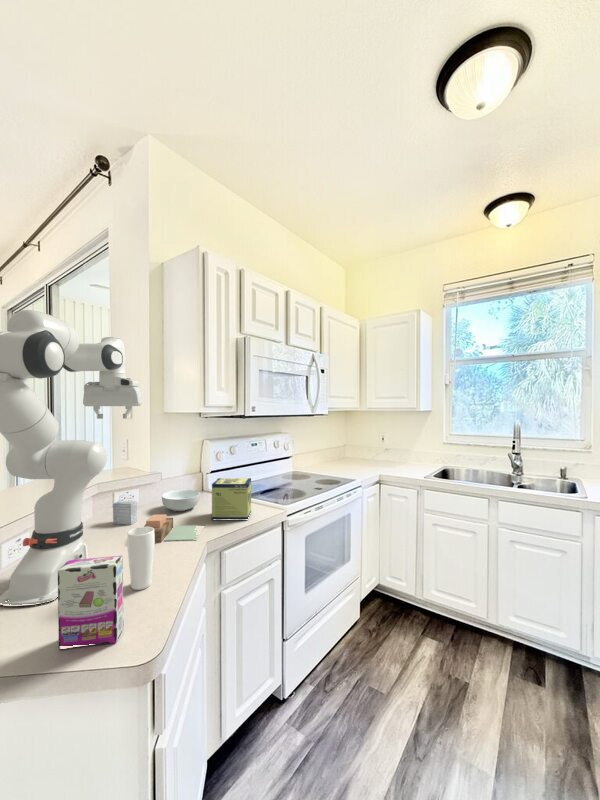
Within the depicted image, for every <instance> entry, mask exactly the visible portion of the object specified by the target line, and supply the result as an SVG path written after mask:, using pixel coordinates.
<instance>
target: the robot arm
mask: <svg viewBox="0 0 600 800" xmlns="http://www.w3.org/2000/svg"><path fill="white" fill-rule="evenodd" d="M6 329H7V331H0V434H1V435H2V436H3V437H4V439H5V440H6V441H7V442H8V444H10V445H11V449H10V450H9V451H8V453H7V454H6V456H5V457H6V458H5V467H6V470H7V471H8V474H10V476H13V477H15V478H21V479H27V480H54V483H53V487H52V490H50V491H49V492H47V493H45V494H43V495H42V496H40V497H39V498H38V500H36V502H35V504H34V508H33V509H34V515H33V516H34V520H33V521H34V529H33V531H32V533H31V536H30V537H25V538H24V539H23V541H22V543H21V544H22V546H23V547H26V546H29V548H28V550H27V551H26V552H25V554H24V555H23V557H22V558H21V560H20V561H19V562H18V564H17V566H16V567H15V569H14V570H13V571H12V573H11V574H10V576H9V577H10V579H9V586H8V588H7V589H6V590H5V591H4V592H3V593H2V594H1V595H0V603H2V604H9V605H10V604H11V605H22V604H36V603H43V602H47V601H51V600H53V599H55V598H56V597H58V570H59V569H60V568H61V567H62V566H63V565H64V564H65V563H66V562H67V561H69V560H79V559H89V553H88V546H87V543H86V542H85V541H84V539H83V535H84V524H83V521H82V504H83V502H82V501H83V497H84V496H83V495H84V493H85V490H86V488H87V486H88V485H89V483H90V482H91V481H92V480H93V479H94V478H95V477H96V476H98V475H99V474H100V473H101V472H102V471H103V470H104V468H105V466H106V464H107V459H108V458H107V456H108V455H107V451H106V450H105V448H104V446H103V445H102V444H101V443H98V442H95V441H90V440H83V439H81V440H79V439H78V440H76V439H75V440H74V439H73V440H72V439H70V440H68V439H67V440H65V439H64V440H62V439H56V438H57V437H58V435H59V432H60V423H59V421H58V420H57V419H56V417H55V416H54V415H53V413H52V412H51V410H50V409H49V408H48V406H47V405H46V404H45V402H44V401H43V400H42V399H41V397H40V396H39V395H38V394H37V393H36V392H35V391H34V390H33V389H32V388H31V386H30V382H29V379H39V380H40V379H46V378H50V377H54V376H57V375H59V373H60V372H61V370H62V369H63V370H65V371H67V372H70V373H75V372H99V373H98V374H99V375H98V380H99V381H88V382H87V383H85V384H84V386H83V397H82V398H83V399H82V404H83V406H84V407H93V408H92V409H93V411H94V412H95V415H96V419H98V420H100V419H104V414H103V413H101V412H100V410H101V407H125V410H126V411H125V412H124V413H122V419H123V420H124V419H130V418H129V415H130V413H131V412H132V410H133V407H140V406H141V405H142V403H143V401H142V399H143V397H142V391H141V388H139V386H140V382H139V381H138V380H134V379H132V378H129V377H127V373H126V369H125V367H126V365H127V364H126V363H127V359H126V347H125V343H124V341H123V340H122V339H120V338H116V337H112V336H108V337H107V336H105V337H103V338H101V340H100V342H98V343H80V337H79V333H78V331H77V330H76V329H75V328H74V326H72V325H71V324H69V323H67V322H66V321H64V320H62V319H60V318H58V317H56V316H53V315H51V314H48V313H46V312H42V311H38V310H32V309H24V310H19V311H17V312H15V313H13V314H12V315H11V316H10V318H9V319H8V321H7V325H6ZM8 600H9V601H8ZM5 601H7V602H5Z"/></svg>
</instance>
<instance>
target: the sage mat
mask: <svg viewBox="0 0 600 800" xmlns="http://www.w3.org/2000/svg"><path fill="white" fill-rule="evenodd" d="M196 526H198V525H194V524H193V525H175V526H174V527H173V529H172V530H171V531H170V532H169V533H168V535H167V536H166V537H165V538H164V539H163V541H164V542H177V541H176V540H189V541H194V540H193V539H197V538H198V539H199V537H196V536H198V535H196V532H197V530H194V529H195V528H196ZM194 531H196V532H194ZM198 539H197V540H198Z"/></svg>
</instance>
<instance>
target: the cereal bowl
mask: <svg viewBox="0 0 600 800" xmlns="http://www.w3.org/2000/svg"><path fill="white" fill-rule="evenodd" d="M200 498H201V492H200V491H198V490H194V489H176V490H171V491H166V492H164V493H163V494H162V495H161V501H162V505H163V506H164V508H166V509H169V510H171V511H173V512H176V511H181V512H186V511H188V509H189V510H190V509H192V508H194V507H195V506H197V505H198V503H200ZM185 510H186V511H185Z"/></svg>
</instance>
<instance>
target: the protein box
mask: <svg viewBox="0 0 600 800" xmlns="http://www.w3.org/2000/svg"><path fill="white" fill-rule="evenodd" d="M250 513H252V478H250V477H245V478H244V477H243V478H242V477H241V478H240V477H239V478H238V477H237V478H234V477H233V478H231V477H230V478H229V477H227V478H225V477H224V478H222V477H221V478H220V477H219V478H217V479H216V480H215V481H214V482H213V483H211V520H212V519H248V517H249V518H250V516H251V514H250ZM249 515H250V516H249ZM248 520H249V519H248Z"/></svg>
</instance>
